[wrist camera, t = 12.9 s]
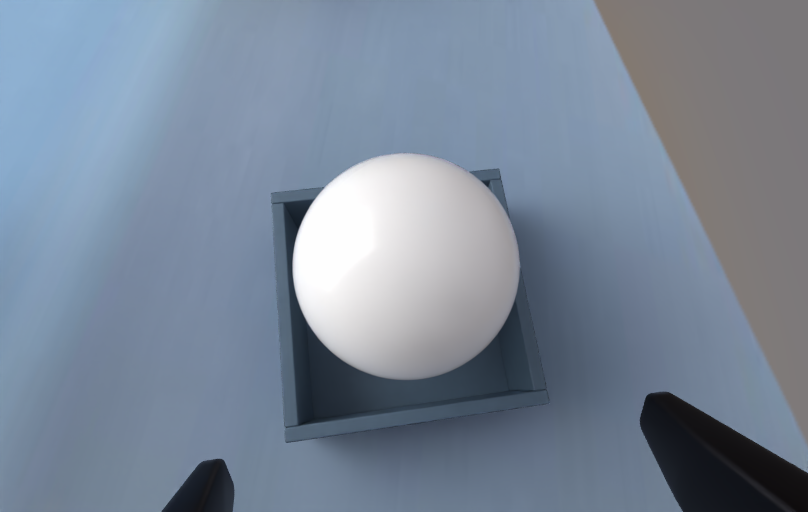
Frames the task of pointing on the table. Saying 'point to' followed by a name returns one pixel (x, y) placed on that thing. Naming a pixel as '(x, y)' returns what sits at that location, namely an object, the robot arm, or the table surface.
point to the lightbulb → (406, 266)
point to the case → (379, 397)
